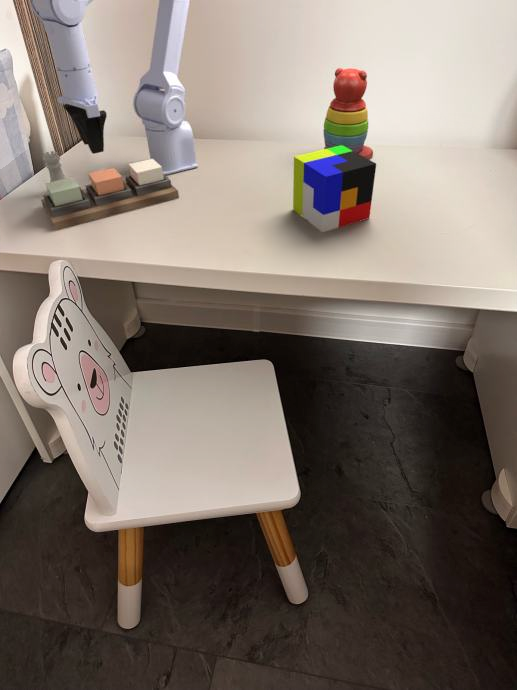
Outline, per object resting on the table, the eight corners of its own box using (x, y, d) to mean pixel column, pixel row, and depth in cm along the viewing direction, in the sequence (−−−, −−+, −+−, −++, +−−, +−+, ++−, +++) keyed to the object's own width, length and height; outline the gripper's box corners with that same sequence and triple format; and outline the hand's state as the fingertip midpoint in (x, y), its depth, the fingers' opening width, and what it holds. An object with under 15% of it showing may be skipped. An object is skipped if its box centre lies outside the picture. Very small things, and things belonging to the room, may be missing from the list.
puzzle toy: (322, 232, 86) (325, 176, 80) (293, 209, 93) (293, 156, 86) (369, 218, 89) (376, 163, 83) (337, 197, 96) (341, 145, 90)
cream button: (154, 170, 101) (152, 158, 99) (163, 179, 97) (161, 167, 96) (131, 176, 99) (128, 164, 97) (139, 185, 96) (137, 172, 94)
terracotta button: (116, 180, 98) (113, 167, 96) (124, 189, 95) (121, 176, 93) (91, 186, 96) (88, 173, 95) (98, 195, 93) (95, 182, 91)
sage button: (76, 189, 95) (72, 177, 93) (82, 199, 92) (79, 186, 90) (49, 196, 93) (45, 183, 92) (55, 206, 90) (51, 193, 88)
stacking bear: (375, 154, 112) (387, 65, 100) (357, 170, 105) (366, 77, 93) (332, 146, 116) (337, 60, 104) (311, 161, 110) (315, 71, 98)
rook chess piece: (66, 198, 99) (54, 158, 94) (46, 196, 100) (33, 157, 95) (77, 188, 103) (66, 149, 97) (57, 187, 103) (45, 148, 98)
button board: (158, 178, 105) (156, 164, 103) (179, 197, 98) (176, 183, 96) (43, 206, 97) (38, 192, 95) (55, 230, 90) (50, 215, 88)
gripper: (41, 62, 88) (63, 140, 97) (59, 80, 79) (82, 164, 88) (80, 56, 91) (98, 133, 100) (103, 73, 81) (121, 156, 90)
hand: (93, 147), depth 94 cm, fingers open, 5 cm apart
